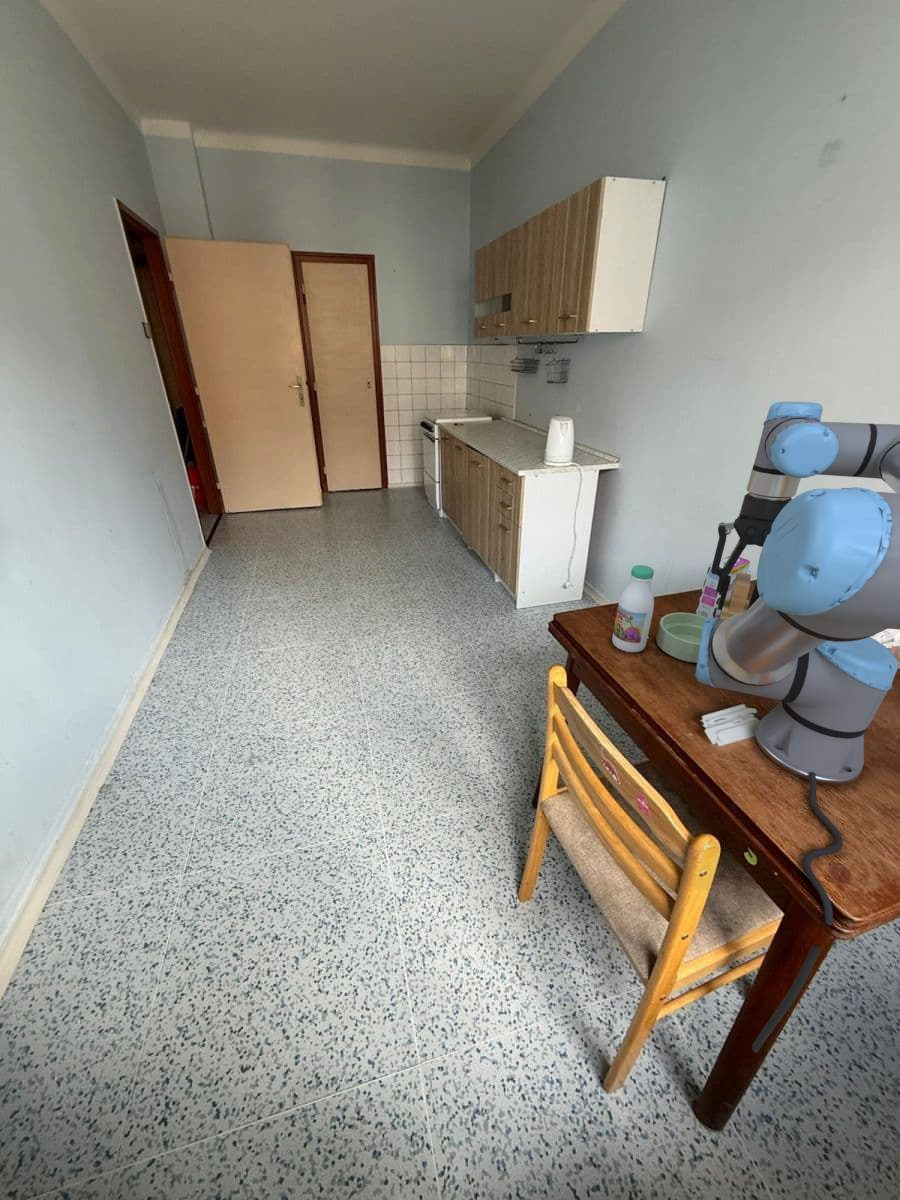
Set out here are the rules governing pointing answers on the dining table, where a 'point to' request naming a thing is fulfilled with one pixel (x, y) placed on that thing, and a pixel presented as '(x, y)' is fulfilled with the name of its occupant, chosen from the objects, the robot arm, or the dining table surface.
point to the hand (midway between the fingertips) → (734, 609)
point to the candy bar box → (709, 592)
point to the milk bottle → (634, 611)
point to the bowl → (681, 635)
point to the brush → (737, 597)
